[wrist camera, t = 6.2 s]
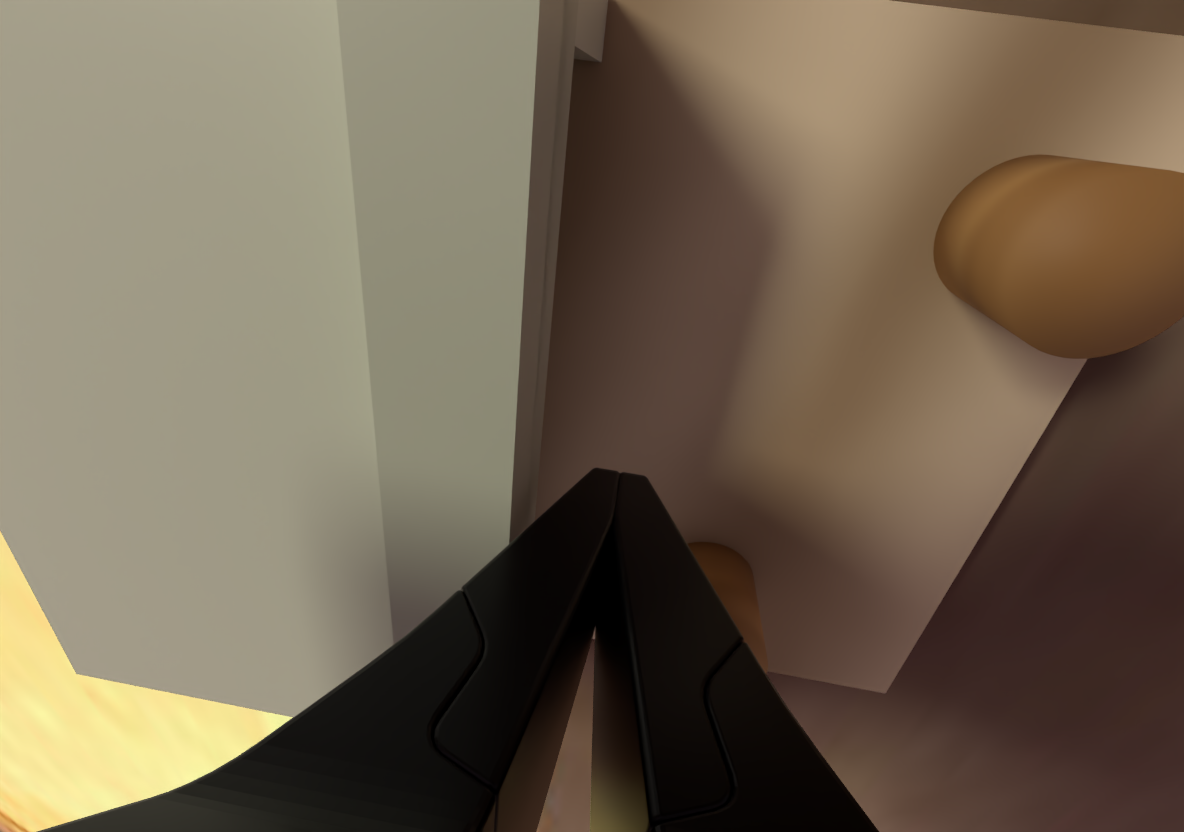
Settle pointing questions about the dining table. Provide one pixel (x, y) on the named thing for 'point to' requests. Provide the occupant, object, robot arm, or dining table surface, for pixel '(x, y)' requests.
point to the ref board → (849, 287)
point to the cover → (273, 321)
